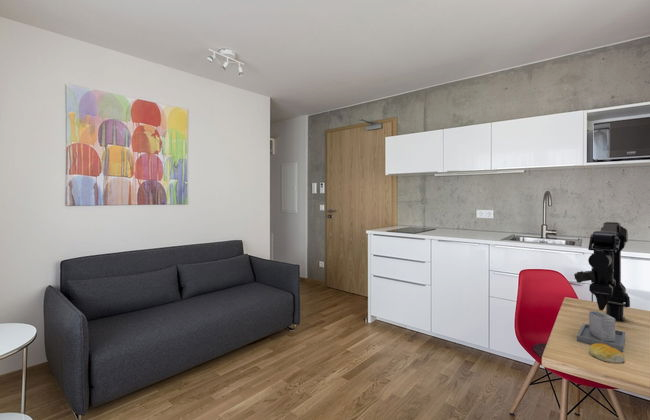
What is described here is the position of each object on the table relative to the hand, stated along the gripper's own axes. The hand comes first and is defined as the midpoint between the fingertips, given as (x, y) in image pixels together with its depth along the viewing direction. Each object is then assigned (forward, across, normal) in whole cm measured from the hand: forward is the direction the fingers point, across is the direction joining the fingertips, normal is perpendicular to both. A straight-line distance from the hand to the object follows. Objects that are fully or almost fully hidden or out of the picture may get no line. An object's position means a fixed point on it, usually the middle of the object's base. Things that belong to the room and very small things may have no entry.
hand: (602, 307), depth 122 cm
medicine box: (+11, 0, 0) cm, 11 cm away
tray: (+12, +1, 0) cm, 12 cm away
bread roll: (+12, +18, +2) cm, 22 cm away
